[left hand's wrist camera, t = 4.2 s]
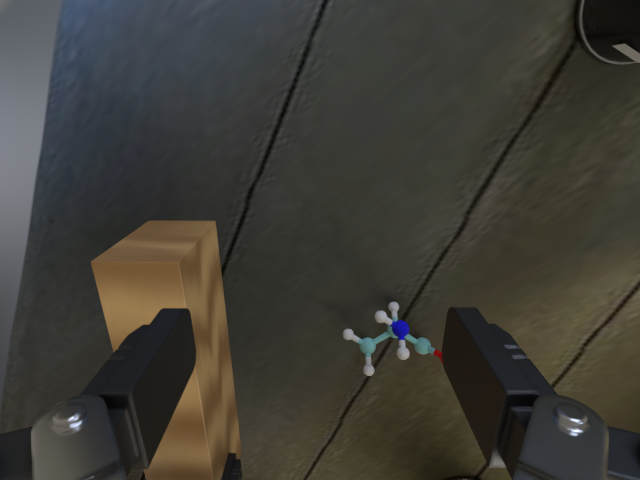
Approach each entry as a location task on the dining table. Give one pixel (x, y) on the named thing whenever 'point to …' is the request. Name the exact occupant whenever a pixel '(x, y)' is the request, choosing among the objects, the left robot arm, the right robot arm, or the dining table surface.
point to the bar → (208, 326)
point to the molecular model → (394, 330)
